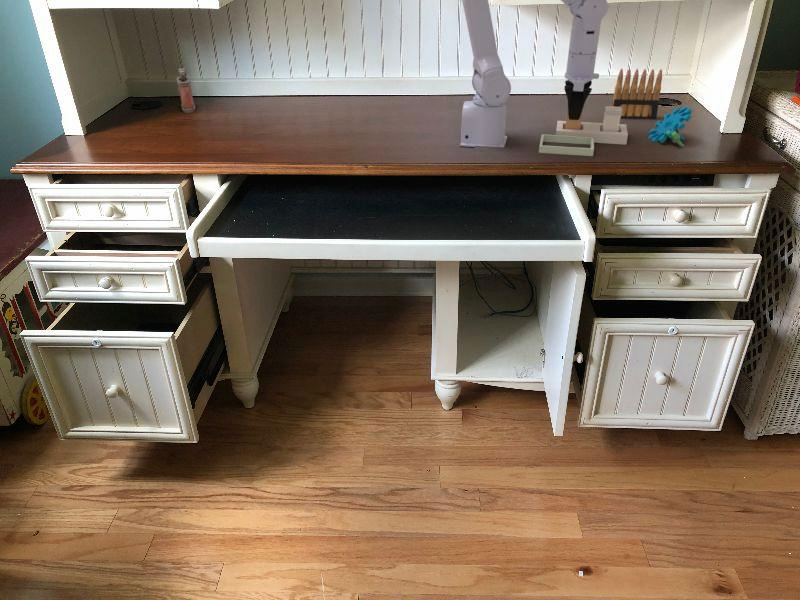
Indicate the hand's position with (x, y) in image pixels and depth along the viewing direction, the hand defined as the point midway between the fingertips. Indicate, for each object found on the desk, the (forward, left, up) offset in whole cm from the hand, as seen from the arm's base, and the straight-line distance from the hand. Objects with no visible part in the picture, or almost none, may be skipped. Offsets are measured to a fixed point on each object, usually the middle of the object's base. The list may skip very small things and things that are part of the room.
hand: (574, 116), depth 141 cm
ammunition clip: (+14, +17, -5) cm, 23 cm away
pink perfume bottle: (-99, +6, -5) cm, 99 cm away
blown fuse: (0, 0, -3) cm, 3 cm away
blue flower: (+20, +1, -5) cm, 21 cm away
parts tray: (-1, -9, -5) cm, 10 cm away
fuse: (+8, 0, -4) cm, 9 cm away
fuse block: (+4, 0, -5) cm, 6 cm away
